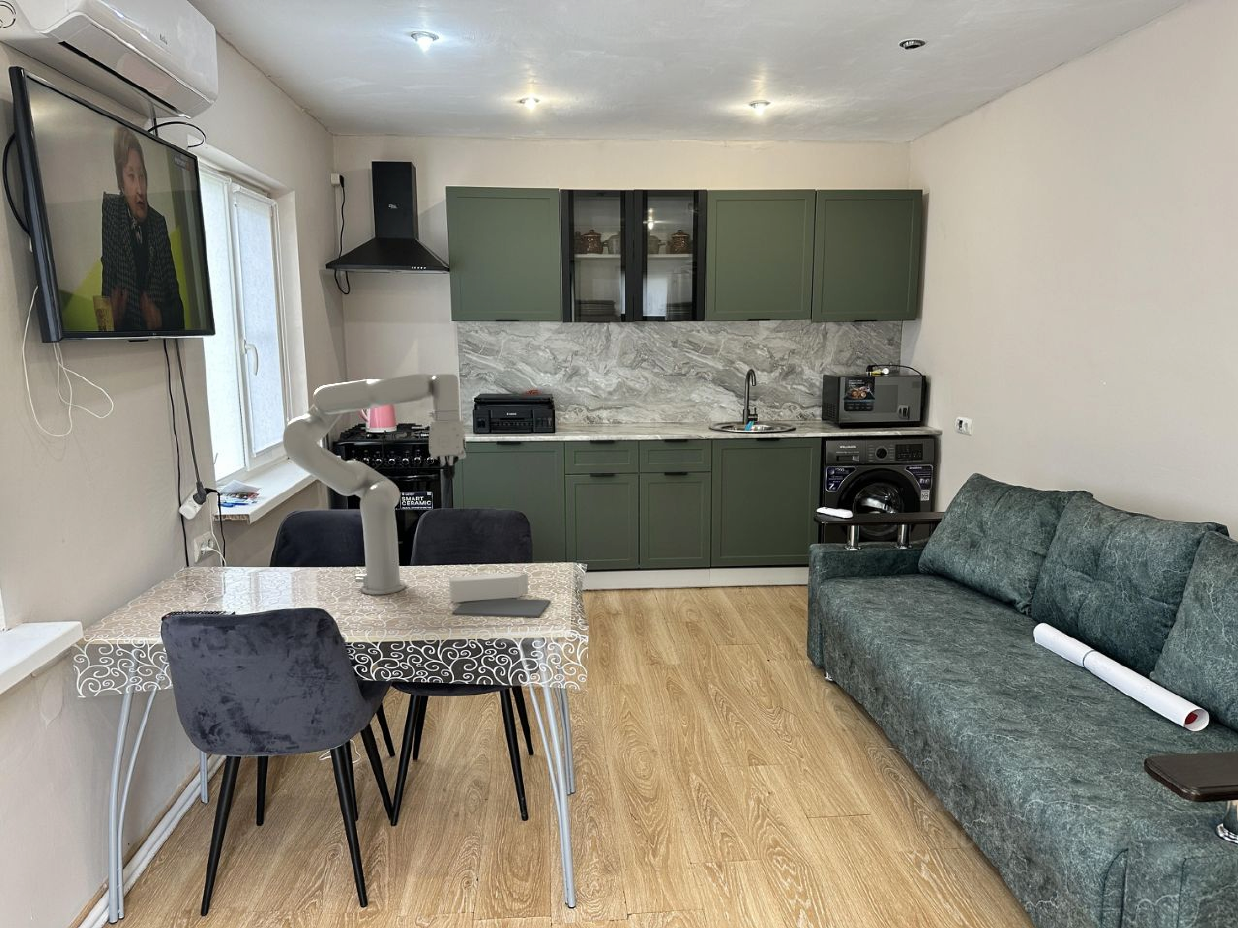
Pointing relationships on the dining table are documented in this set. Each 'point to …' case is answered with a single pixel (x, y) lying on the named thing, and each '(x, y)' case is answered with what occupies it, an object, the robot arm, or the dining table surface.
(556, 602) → the dining table surface
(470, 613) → the mat
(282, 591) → the dining table surface
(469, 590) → the milk
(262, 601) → the dining table surface
